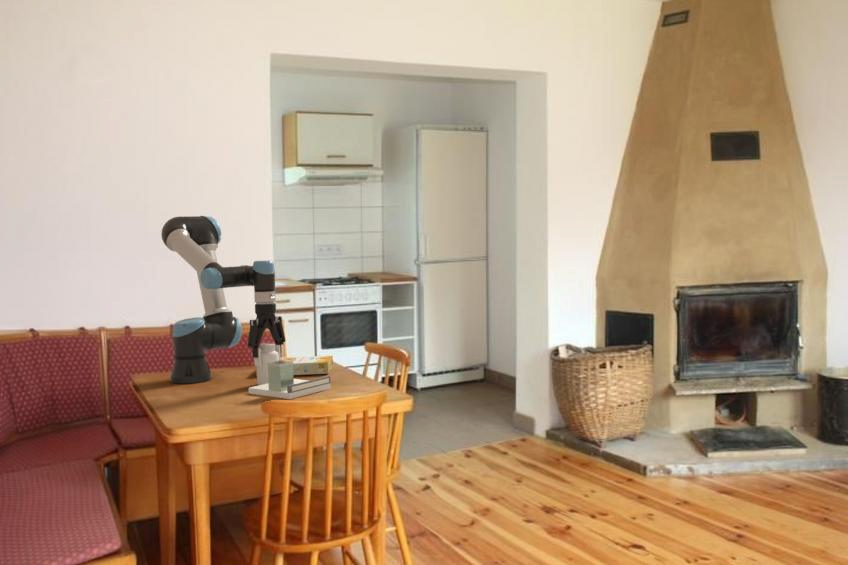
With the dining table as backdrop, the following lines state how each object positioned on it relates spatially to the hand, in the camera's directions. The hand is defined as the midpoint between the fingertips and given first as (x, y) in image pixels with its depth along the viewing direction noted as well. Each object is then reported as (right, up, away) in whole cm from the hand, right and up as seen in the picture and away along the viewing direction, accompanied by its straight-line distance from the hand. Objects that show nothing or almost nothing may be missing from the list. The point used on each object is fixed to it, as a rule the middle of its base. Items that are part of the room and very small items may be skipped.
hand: (267, 364), depth 301 cm
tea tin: (+8, -7, -19) cm, 22 cm away
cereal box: (+6, -6, +27) cm, 28 cm away
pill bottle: (0, -8, 0) cm, 8 cm away
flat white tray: (+10, -8, -13) cm, 18 cm away
